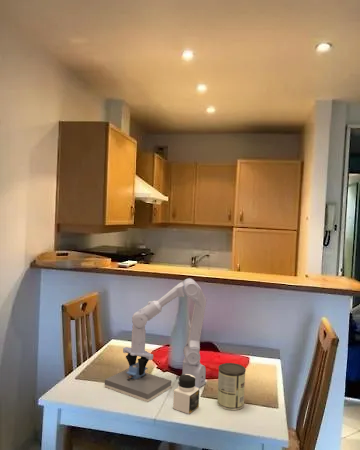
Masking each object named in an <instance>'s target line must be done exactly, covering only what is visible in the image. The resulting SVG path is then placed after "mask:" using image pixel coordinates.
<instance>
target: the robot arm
mask: <svg viewBox="0 0 360 450" xmlns="http://www.w3.org/2000/svg"><path fill="white" fill-rule="evenodd" d="M185 295H186V296H187V297H189V298H190V299H191V300H192V302H194V305H193V310H192V316H191V321H190V328H189V333H188V334H189V335H188V339H187V340H186V344H185V346H184V347H183V354H184V358H183V360H182V373H181V375H184V374H190V375H193V376H194V377H195V387H196V388H199V389H200V388H201V387H202V386H205V384H206V383H207V381H206V376H207V375H206V372H207V371H206V370H207V369H206V366H205V365H203V364H202V363H201V358H202V357H201V354H200V351H201V350H200V349H201V347H200V346H201V345H200V344H201V342H200V341H201V336H202V329H203V324H204V317H205V312H206V305H207V299H206V296H205V294H204V292H203V289H202V288H201V287H200V285H199V284H198V283H197V281H196V280H194V279H193V278H190V277H189V278H186V279H183V281H181V282H179V283H178V284H176V285H175V286H173V288H171V289H170V290H169V291H168V292H166V293H165V294H164V295H163V296H162V297H160V298H159V299H158V300H152V301H151V300H149V301H148V302H147V304H146V305H145V306H144V307H142V308H139V309H138V311H136V312H134V313H133V314H132V317H131V321H132V326H131V327H132V329H131V347H129V346H128V347H127V346H125V347H122V353H124V354H127V355H125V359H126V360H127V362H128V365H129V366H131V365H133V364H135V363H139V375H142V374H144V370H145V367H146V366H147V364H148V362H149V361H151V360H153V359H154V354H153V353H150V352H149V351H146V325H147V322H148V321H151V320H152V319H153V318H154V317H156V316H158V315H159V314H160V313H162V309H163V307H164V306H166V305H168V304H169V303H170V302H172V301H173V300H175V299H176V298H178V297H179V298H180V297H181V298H185ZM138 357H139V358H138ZM129 366H128V367H129ZM146 368H147V367H146ZM145 371H146V370H145ZM177 383H178V384H179V381H178V382H177Z"/></svg>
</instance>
